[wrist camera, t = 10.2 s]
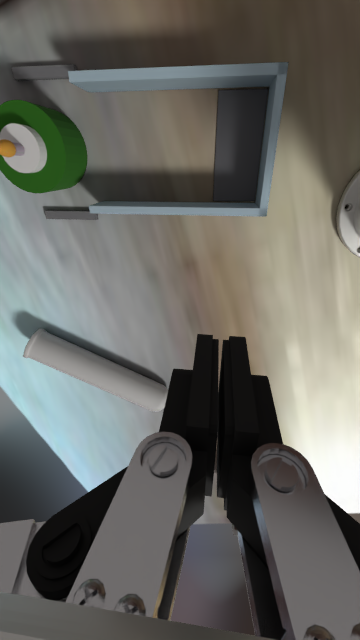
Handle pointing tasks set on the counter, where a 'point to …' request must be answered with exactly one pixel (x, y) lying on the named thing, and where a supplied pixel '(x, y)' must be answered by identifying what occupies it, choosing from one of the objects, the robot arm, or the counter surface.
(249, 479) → the robot arm
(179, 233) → the counter surface
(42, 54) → the counter surface
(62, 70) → the strips
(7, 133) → the candle
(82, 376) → the tube
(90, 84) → the pale blue tray
